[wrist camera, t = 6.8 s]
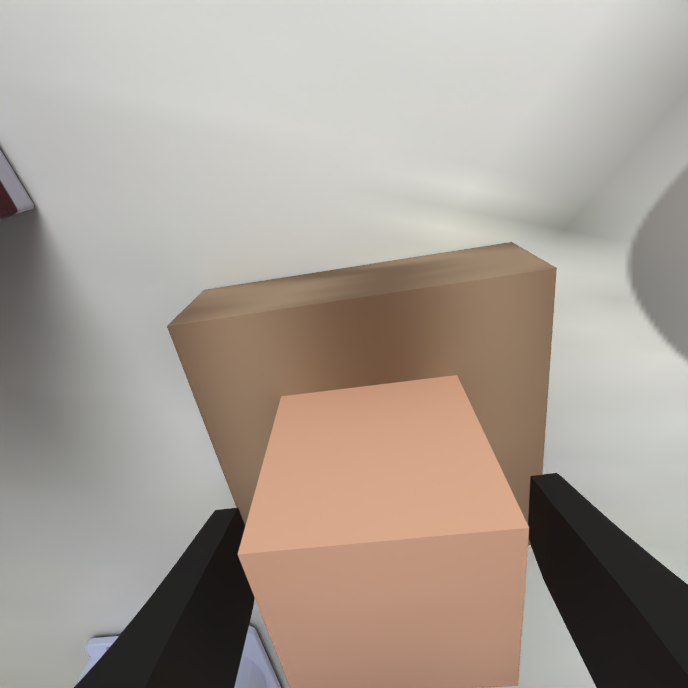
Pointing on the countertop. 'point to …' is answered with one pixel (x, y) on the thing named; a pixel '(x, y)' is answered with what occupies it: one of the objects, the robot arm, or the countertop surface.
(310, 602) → the terracotta cube
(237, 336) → the walnut base
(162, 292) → the countertop surface
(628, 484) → the countertop surface
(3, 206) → the supplement box
